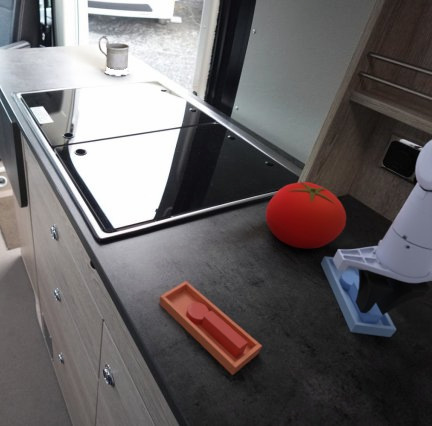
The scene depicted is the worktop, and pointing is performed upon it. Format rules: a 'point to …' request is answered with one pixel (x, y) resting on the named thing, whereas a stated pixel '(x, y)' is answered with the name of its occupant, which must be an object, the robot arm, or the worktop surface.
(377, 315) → the blue spoon
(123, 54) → the mug
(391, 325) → the blue rest
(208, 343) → the orange tray
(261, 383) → the worktop surface
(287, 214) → the tomato
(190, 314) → the red spoon
